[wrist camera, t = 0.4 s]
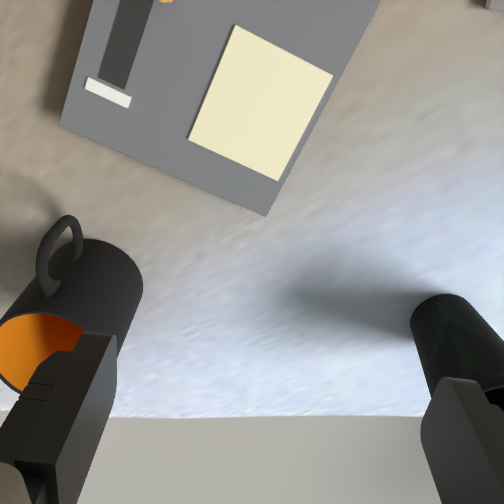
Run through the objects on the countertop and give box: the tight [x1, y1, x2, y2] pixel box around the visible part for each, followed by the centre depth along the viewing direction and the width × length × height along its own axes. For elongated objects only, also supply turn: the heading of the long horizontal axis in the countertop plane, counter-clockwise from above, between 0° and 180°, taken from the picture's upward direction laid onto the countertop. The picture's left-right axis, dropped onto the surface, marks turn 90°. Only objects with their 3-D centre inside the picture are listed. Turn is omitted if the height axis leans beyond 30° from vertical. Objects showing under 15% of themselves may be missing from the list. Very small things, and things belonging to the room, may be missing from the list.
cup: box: [410, 294, 504, 411], centre depth 37 cm, size 8×8×12 cm
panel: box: [59, 0, 381, 217], centre depth 32 cm, size 16×16×2 cm
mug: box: [0, 215, 143, 394], centre depth 36 cm, size 8×12×10 cm
